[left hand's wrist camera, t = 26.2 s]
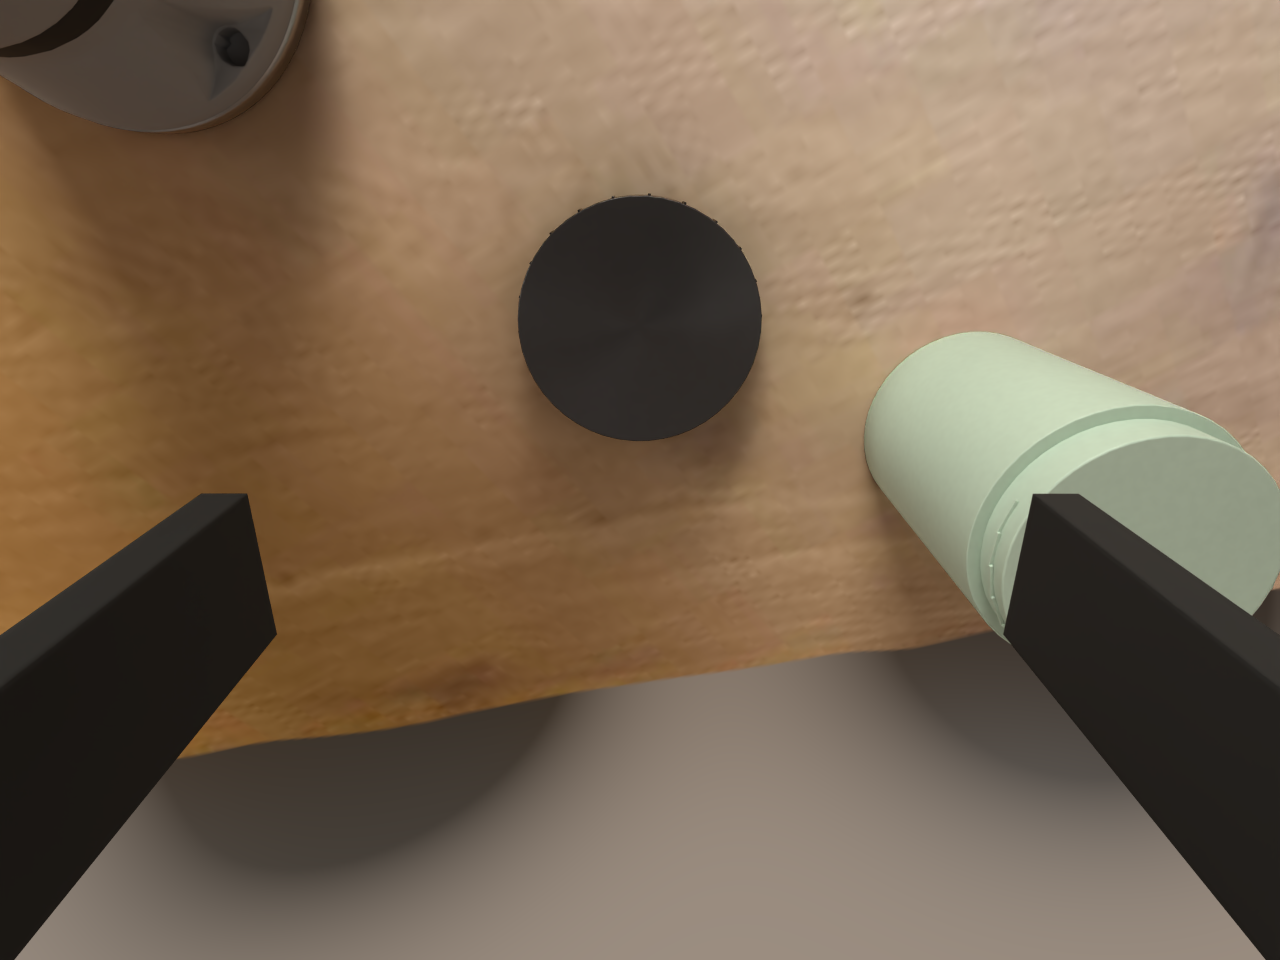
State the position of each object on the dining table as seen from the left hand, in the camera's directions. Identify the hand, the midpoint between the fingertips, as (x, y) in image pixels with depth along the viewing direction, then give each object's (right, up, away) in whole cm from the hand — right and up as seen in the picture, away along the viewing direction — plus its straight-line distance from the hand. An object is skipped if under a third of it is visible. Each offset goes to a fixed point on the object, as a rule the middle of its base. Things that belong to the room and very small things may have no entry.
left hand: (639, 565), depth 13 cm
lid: (0, +9, +22) cm, 24 cm away
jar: (+17, +4, +26) cm, 31 cm away
